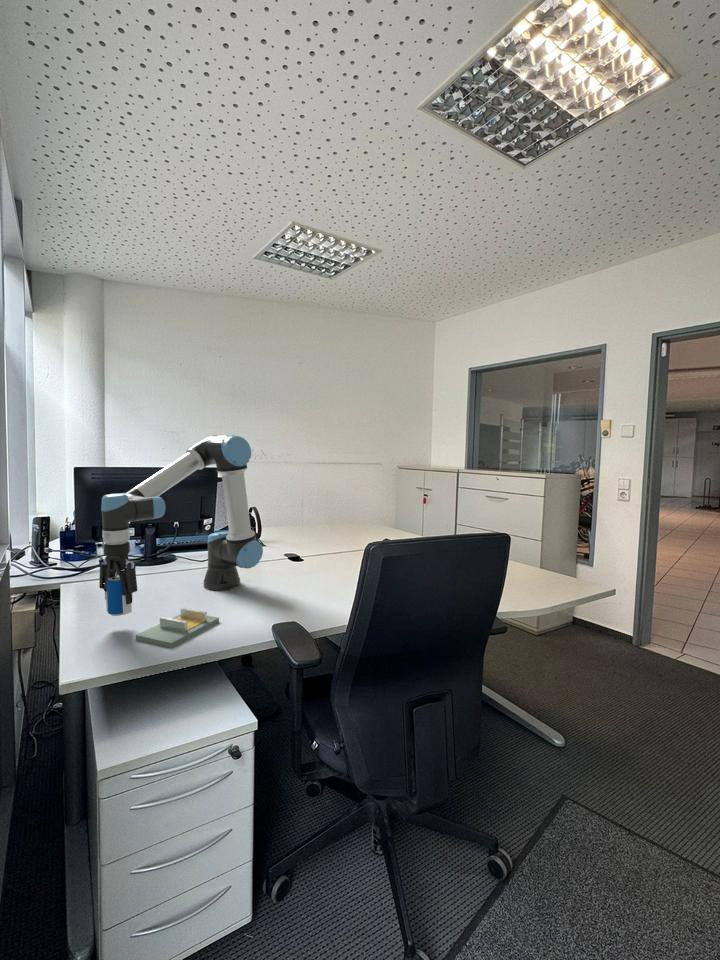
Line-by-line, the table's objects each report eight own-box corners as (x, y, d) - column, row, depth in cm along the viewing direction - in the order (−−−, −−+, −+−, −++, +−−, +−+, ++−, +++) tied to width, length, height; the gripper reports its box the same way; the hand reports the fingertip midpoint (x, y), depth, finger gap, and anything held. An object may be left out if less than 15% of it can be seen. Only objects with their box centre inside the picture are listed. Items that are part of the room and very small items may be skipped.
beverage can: (113, 609, 152) (111, 574, 151) (133, 609, 152) (132, 574, 151) (104, 617, 146) (102, 580, 144) (125, 616, 146) (123, 580, 145)
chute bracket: (159, 626, 147) (159, 617, 147) (183, 616, 157) (183, 607, 157) (184, 632, 144) (184, 622, 144) (206, 620, 154) (206, 612, 153)
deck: (135, 639, 141) (135, 635, 141) (186, 615, 161) (186, 611, 161) (171, 647, 136) (171, 643, 136) (218, 622, 157) (218, 617, 156)
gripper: (84, 541, 147) (87, 611, 149) (129, 547, 140) (132, 620, 142) (104, 537, 154) (107, 603, 156) (148, 542, 147) (151, 611, 149)
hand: (119, 611), depth 149 cm, fingers closed on beverage can, 6 cm apart
